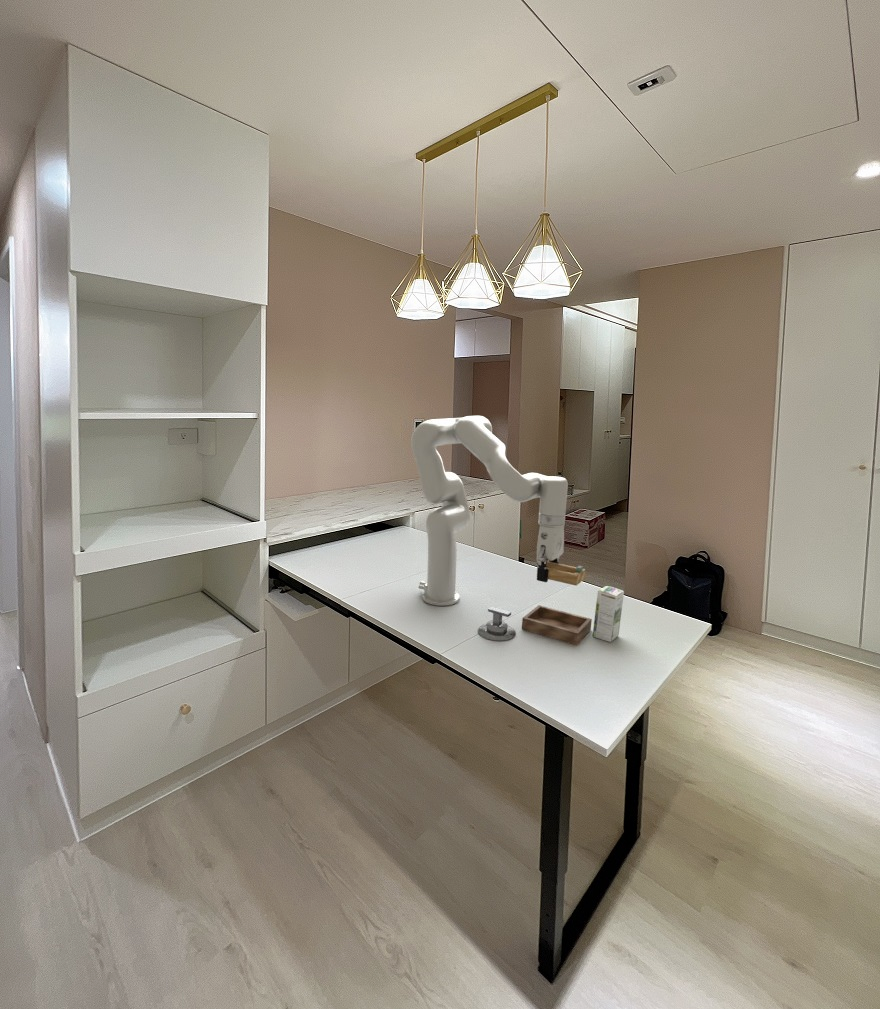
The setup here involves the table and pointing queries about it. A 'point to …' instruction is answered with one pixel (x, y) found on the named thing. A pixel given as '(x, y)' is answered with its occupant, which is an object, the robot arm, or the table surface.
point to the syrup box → (608, 613)
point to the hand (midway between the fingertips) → (547, 577)
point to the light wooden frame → (565, 573)
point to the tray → (557, 624)
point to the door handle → (497, 627)
